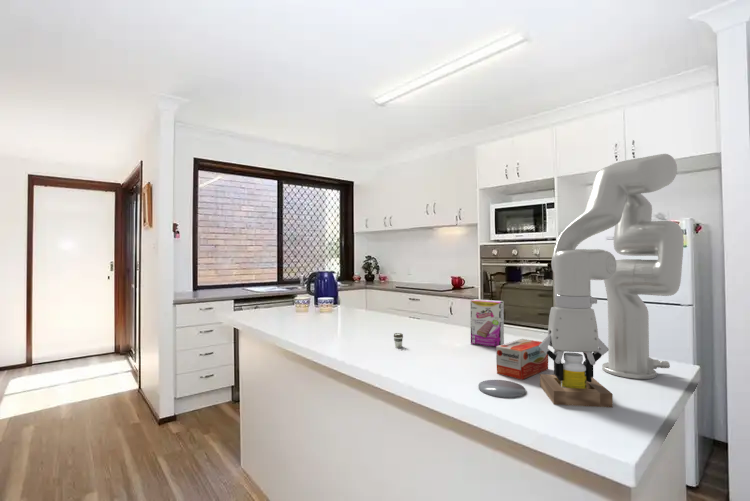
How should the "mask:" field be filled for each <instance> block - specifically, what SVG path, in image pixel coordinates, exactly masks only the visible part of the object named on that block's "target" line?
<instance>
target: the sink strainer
mask: <svg viewBox="0 0 750 501" xmlns="http://www.w3.org/2000/svg"><path fill="white" fill-rule="evenodd" d="M403 338H404V334H403V333H401V332H396V333H393V341H394V347H395V348H402V347H403V340H404V339H403Z"/></svg>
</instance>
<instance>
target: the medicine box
mask: <svg viewBox="0 0 750 501" xmlns="http://www.w3.org/2000/svg"><path fill="white" fill-rule="evenodd" d="M541 343H542V341H538V340H533V339H528V338H527V339H526V338H521V339H520V338H519V339H517V340H512V341H510V342H507V343H504V344H503V345H499V346H496V347H495V349H496V358H495V359H496V374H497V375H501V376H505V377H511V378H514V379H517V380H521V381H523V380H526V379H528V378H531V377H533V376H535V375H537V374H541V373H542V372H545V371H547V370H548V369H549V356H548V355H547V354H546V353H545V352H544V351H543V350H541V349H540V348H539V345H540V344H541Z"/></svg>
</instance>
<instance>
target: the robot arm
mask: <svg viewBox="0 0 750 501" xmlns="http://www.w3.org/2000/svg"><path fill="white" fill-rule="evenodd" d="M677 172H678V165H677V161H676V160H675V159H674V157H673V156H672V155H670V154H669V153H659V154H654V155H649V156H648V155H647V156H645V157H644V156H643V157H638V158H637V157H636V158H631V159H626V160H621V161H617V162H615V163H612V164H610V165H608V166H605V167H603V168H601V169H600V170H598V171H597V173H596V175H595V176H594V179H593V182H592V185H591V189H590V192H589V195H588V200H587V203H586V205H585V209H584V212H583V213H581V215H579V216H578V217H577V218H575V219H574V220H573V221H572V222H570V224H568V225H567V226H566V227H565V228H564V230H563V231H562V232H561V233H560V234H559V236H558V237H557V240H556V242H555V246H554V249H553V252H552V256H551V270H552V272H553V273H554V306H552V307H550V310H549V317H548V326H547V327H548V328H547V336H545V338H544V340H542V341H541V342H542V343H541V344H540V345H539V348H540V349H541V350H543V351H544V352H545V353H546V354H547V355H548V358H550V359H552V361H553V375H555V376H556V377H557V378H558V379H559V380H560V381H562V380H563V364H562V358H563V357H564V353H567V352H572V353H582V354H583V358H584V360H583V362H582V364H584V365H585V366H586V380H587V381H588V382H591V381H592V379H591V377H592V378H594V365H596V362H597V361H598V360H600V359H601V358H602V357H603V356H604V355H605V354H606V353H607V354H608V357H607V358H608V362H604V363H602V364H601V365H602V370H603V371H604V372H606V373H607V374H610V375H614V376H617V377H621V378H627V379H635V380H650V379H654V378H656V377H657V371H656V370H657V368H660V369H670V366H671V365H670V362H669V361H668V360H659V359H654V358H652V357H650V335H649V334H650V327H649V321H650V320H649V316H650V315H649V309H648V307H647V305H646V304H645V302H644V301H643V300H642V299H641V297H640V295H641V296H643V295H645V296H655V297H656V296H657V297H659V296H661V297H669V296H674V295H676V294H677V293H678V291H679V290H680V286H681V284H682V282H681V281H682V272H683V258H684V245H685V244H684V242H685V241H684V240H685V239H684V233H683V232H684V231H683V229H682V227H681V225H679V224H678V223H677V222H675V221H672V220H655V221H654V220H652V217H653V216H652V214H653V205H652V204H651V202H650V201H649V200H648V198H647V197H645V196H644V195H643V194H649V193H654V192H656V191H660V190H662V189H663V188H666V187H667V186H669V185H671V184H672V182H674V180H675V179H676V176H677V174H678V173H677ZM611 228H614V233H613V249H614V250H615V252H616V253H617V254H619V255H622V256H632V257H635V256H636V257H657V259H642V258H641V259H629V258H628V259H626V258H625V259H624V258H623V259H622V258H621V259H616V257H615V256H614V255H613V254H612V252H610V251H608V250H606V249H598V248H597V249H595V248H594V249H590V248H589V249H586V248H585V249H584V248H583V249H577V247H578V246H579V245H580V244H581V243H582V242H584V241H585V240H586V239H588V238H589V239H590V237H592V236H595V235H598V234H600V233H603V232H605V231H607V230H609V229H611ZM591 281H603V282H604V288H605V291H606V300H607V301H606V302H607V344H608V346H607V345H606V344H605V343H604V342H603V341H602V340H601V338H599V331H598V323H597V317H596V314H595V309H593V308H592V307H593V305H594V304H598V298H597V297H592V295H591V292H592V291H591ZM549 346H550V347H551V348H552V349H553V351H552V350H551V349H550V348H549Z"/></svg>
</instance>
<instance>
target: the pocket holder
mask: <svg viewBox="0 0 750 501" xmlns="http://www.w3.org/2000/svg"><path fill="white" fill-rule="evenodd" d="M591 379H592V381H591V382H588V381H587V380H586V389H580V388H562V387H561V381H560V380H559V379H558V378H557V377H556V376H555V375H554V374H549V373H547V374H546V373H545V374H543V373H539V387H540V388H541V390H543V392H544V394H546V396H547V397H548V399H549V400H550V401H551V402H552V404H553V405H558V406H559V405H560V406H573V407H574V406H575V407H576V406H577V407H591V408H592V407H593V408H594V407H596V408H610V409H611V408H613V407H614V406H613V404H614V403H613V402H614V401H613V399H614V396H613V393H612V392H611V391H610V390H608V389H607V388H606V387H605V386H604V385H603V384H601V383H600V382H599V381H597V380H596V379H595V378H594V377H593V378H592V377H591Z"/></svg>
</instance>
